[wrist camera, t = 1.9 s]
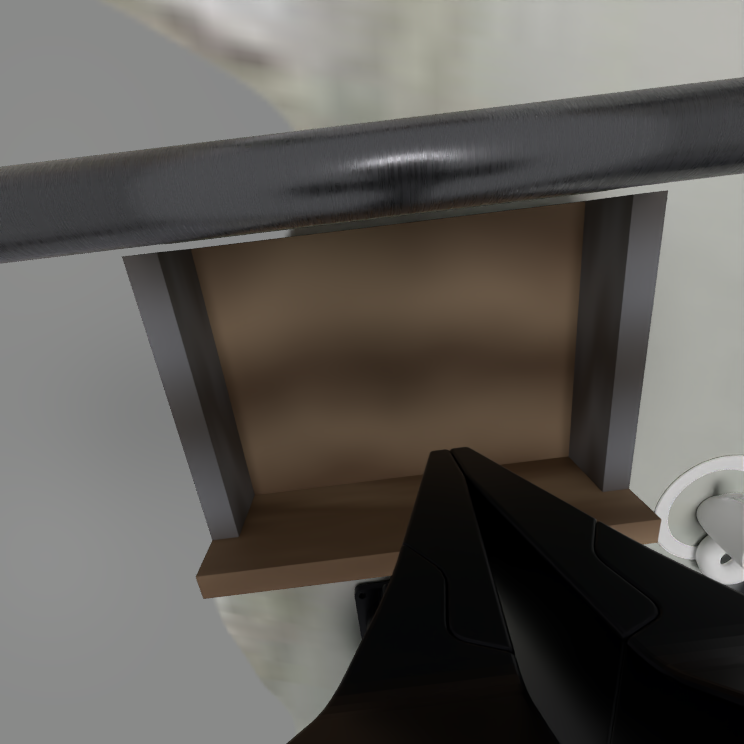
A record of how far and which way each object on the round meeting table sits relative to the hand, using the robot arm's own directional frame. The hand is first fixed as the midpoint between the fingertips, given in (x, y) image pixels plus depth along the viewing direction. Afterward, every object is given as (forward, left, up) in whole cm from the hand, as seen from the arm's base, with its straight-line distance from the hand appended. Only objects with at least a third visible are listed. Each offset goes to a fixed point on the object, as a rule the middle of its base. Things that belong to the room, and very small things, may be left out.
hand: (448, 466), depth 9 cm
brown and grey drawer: (-2, 0, -12) cm, 12 cm away
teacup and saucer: (-16, -17, -13) cm, 26 cm away
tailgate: (+6, 0, -10) cm, 12 cm away
